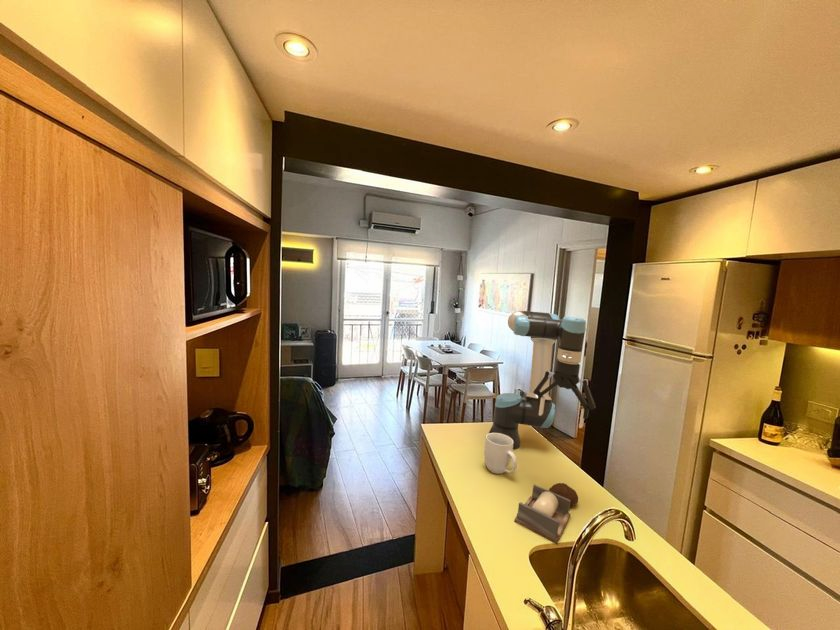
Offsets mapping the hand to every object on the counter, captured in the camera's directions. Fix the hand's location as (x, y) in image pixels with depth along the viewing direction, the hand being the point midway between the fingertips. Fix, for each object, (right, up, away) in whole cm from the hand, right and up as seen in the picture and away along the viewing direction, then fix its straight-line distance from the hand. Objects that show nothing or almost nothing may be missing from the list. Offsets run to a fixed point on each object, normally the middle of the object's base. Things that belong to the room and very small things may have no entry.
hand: (560, 420), depth 118 cm
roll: (-9, -28, -10) cm, 31 cm away
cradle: (-10, -29, -10) cm, 32 cm away
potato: (+1, -29, 0) cm, 29 cm away
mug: (-18, -26, +17) cm, 36 cm away
